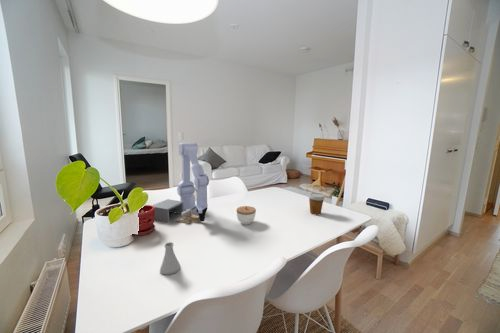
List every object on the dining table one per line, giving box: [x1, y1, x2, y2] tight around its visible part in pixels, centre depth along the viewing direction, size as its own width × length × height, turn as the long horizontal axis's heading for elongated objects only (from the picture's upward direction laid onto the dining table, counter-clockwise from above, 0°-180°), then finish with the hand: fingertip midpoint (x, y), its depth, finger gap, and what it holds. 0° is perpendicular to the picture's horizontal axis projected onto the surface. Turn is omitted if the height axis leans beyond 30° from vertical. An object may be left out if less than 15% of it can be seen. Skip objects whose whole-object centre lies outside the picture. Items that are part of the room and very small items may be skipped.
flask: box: [159, 241, 181, 276], centre depth 82 cm, size 7×7×10 cm
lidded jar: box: [236, 205, 256, 225], centre depth 124 cm, size 11×11×9 cm
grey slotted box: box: [151, 198, 185, 223], centre depth 132 cm, size 14×12×8 cm
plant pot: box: [137, 204, 156, 236], centre depth 111 cm, size 13×13×12 cm
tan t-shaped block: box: [176, 209, 201, 224], centre depth 126 cm, size 8×12×5 cm
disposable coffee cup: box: [308, 192, 325, 216], centre depth 139 cm, size 10×10×12 cm
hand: (202, 220), depth 124 cm, fingers closed
